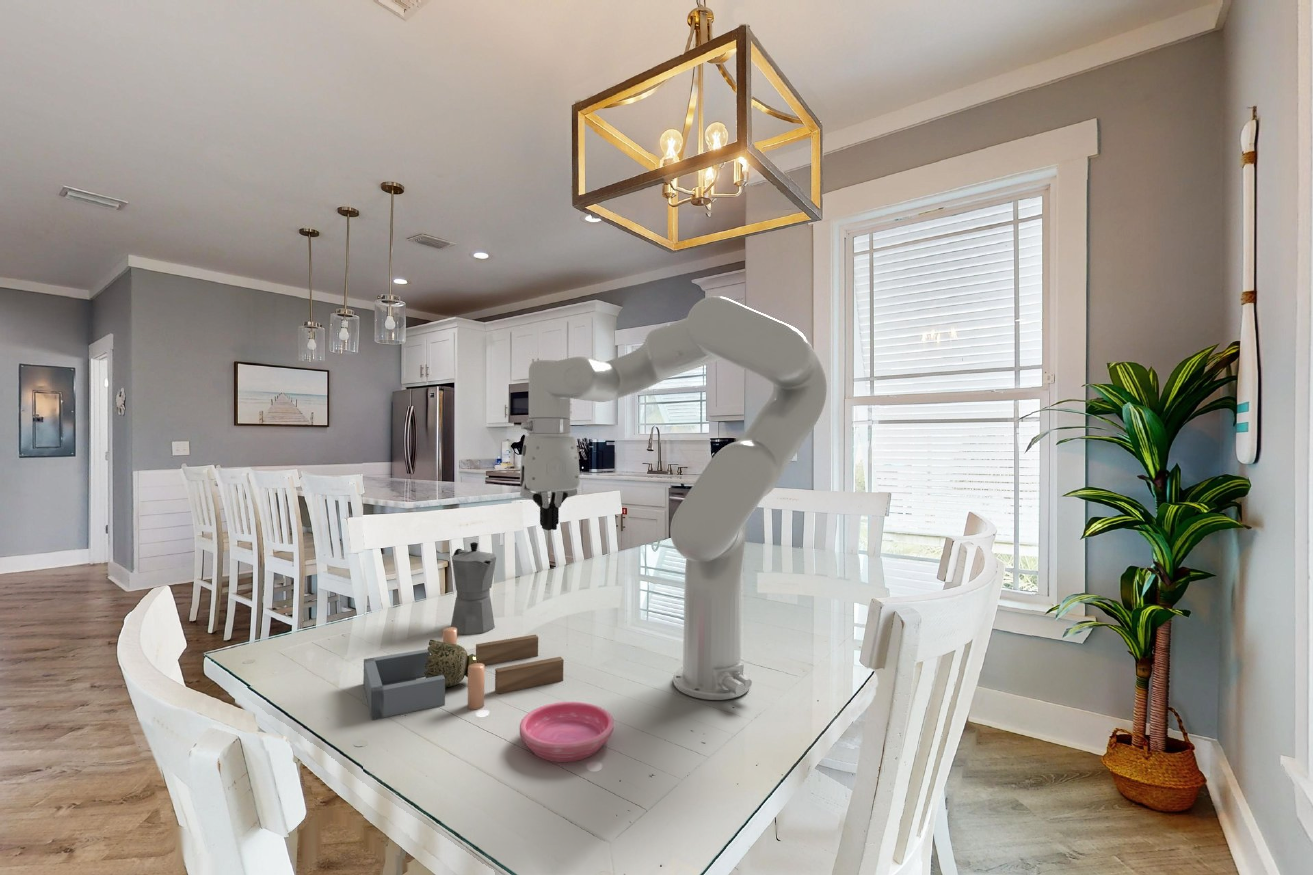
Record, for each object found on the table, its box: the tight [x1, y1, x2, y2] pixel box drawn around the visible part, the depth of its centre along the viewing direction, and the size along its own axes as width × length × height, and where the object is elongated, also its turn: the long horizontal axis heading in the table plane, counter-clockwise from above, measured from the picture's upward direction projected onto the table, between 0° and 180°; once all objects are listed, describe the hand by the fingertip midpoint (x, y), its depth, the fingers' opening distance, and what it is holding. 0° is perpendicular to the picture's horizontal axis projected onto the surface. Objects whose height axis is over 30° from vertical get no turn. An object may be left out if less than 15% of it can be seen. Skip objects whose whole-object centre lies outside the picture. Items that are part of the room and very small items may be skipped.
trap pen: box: [362, 648, 446, 721], centre depth 94 cm, size 14×10×4 cm
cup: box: [424, 639, 477, 688], centre depth 98 cm, size 8×7×8 cm
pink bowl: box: [519, 701, 615, 763], centre depth 80 cm, size 12×12×3 cm
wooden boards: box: [475, 634, 565, 695], centre depth 103 cm, size 14×11×4 cm
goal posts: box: [442, 626, 486, 710], centre depth 99 cm, size 21×2×6 cm, turn 30°
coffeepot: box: [450, 541, 497, 636], centre depth 127 cm, size 15×9×18 cm, turn 44°
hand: (549, 528), depth 110 cm, fingers closed
